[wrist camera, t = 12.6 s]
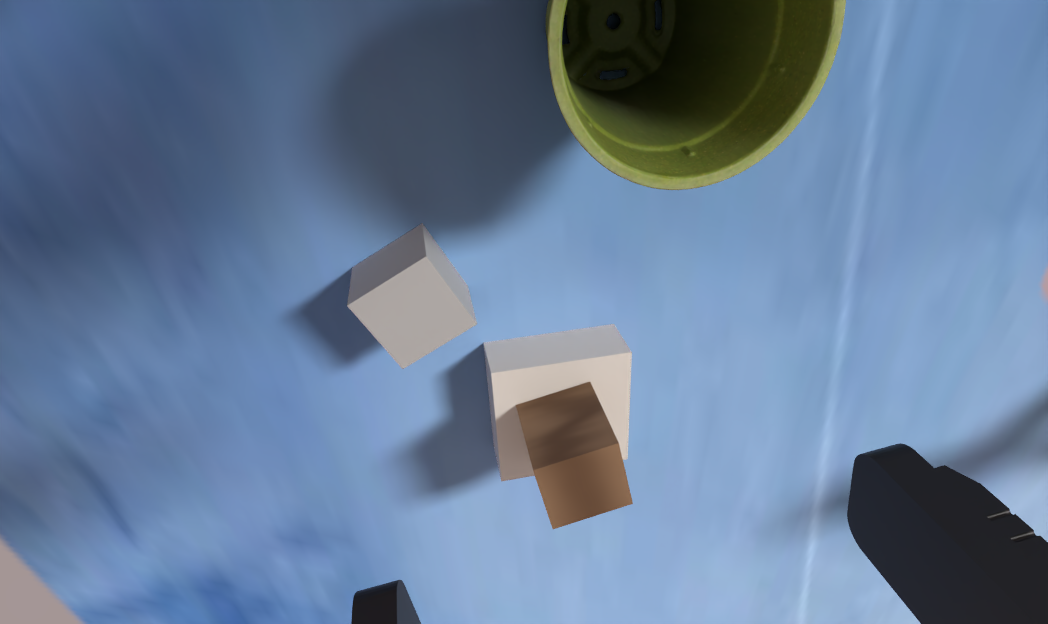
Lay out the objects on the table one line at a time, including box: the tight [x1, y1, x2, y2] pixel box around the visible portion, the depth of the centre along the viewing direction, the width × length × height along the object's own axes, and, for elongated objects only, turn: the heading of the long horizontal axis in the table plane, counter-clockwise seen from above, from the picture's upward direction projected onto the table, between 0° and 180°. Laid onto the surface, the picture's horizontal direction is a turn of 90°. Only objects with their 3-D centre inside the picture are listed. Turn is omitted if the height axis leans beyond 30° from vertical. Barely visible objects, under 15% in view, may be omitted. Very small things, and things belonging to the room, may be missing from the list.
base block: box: [484, 324, 632, 481], centre depth 43 cm, size 9×9×4 cm
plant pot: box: [546, 0, 846, 190], centre depth 28 cm, size 12×12×11 cm
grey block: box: [347, 223, 477, 369], centre depth 36 cm, size 5×5×5 cm
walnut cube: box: [516, 382, 633, 529], centre depth 38 cm, size 5×5×6 cm
